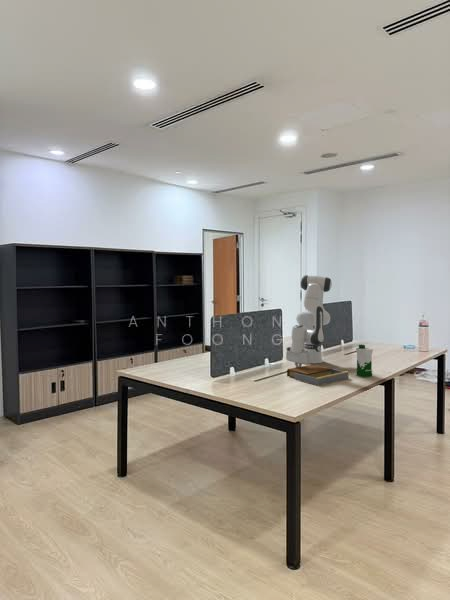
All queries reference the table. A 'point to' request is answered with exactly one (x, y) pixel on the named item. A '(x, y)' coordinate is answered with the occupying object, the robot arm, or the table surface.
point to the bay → (323, 377)
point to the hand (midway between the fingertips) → (298, 369)
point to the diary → (310, 371)
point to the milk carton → (364, 361)
